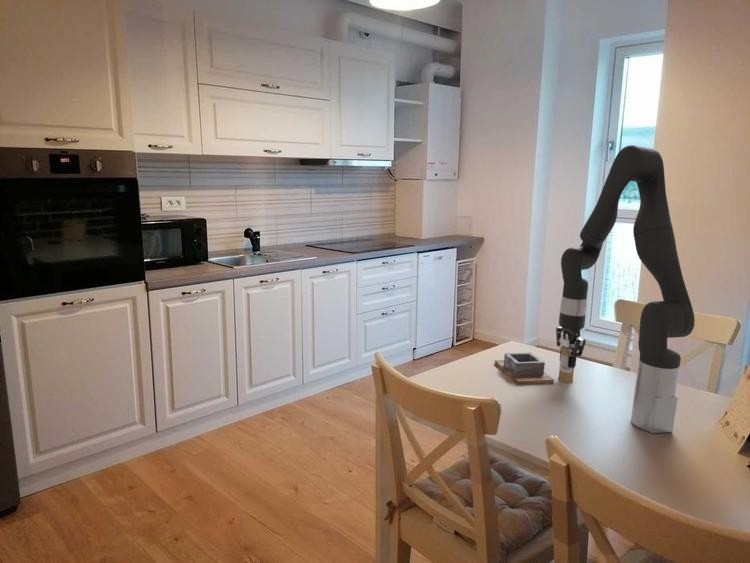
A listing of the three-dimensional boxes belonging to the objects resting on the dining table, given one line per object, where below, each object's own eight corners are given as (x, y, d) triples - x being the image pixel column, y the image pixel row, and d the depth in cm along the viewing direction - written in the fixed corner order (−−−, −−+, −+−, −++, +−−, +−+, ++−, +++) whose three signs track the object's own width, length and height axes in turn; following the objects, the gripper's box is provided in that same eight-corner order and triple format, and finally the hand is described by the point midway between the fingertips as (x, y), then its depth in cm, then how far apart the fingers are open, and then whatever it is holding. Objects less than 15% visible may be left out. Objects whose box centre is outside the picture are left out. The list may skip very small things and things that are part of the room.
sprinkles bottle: (575, 380, 171) (580, 339, 168) (568, 384, 168) (573, 342, 165) (562, 376, 174) (566, 336, 171) (555, 379, 171) (559, 339, 168)
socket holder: (553, 383, 168) (555, 367, 167) (517, 384, 166) (518, 368, 165) (528, 362, 185) (529, 348, 184) (494, 363, 183) (495, 349, 182)
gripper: (597, 317, 160) (590, 372, 163) (572, 305, 174) (566, 356, 177) (573, 318, 159) (567, 373, 162) (550, 305, 172) (545, 356, 176)
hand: (567, 364), depth 170 cm, fingers closed on sprinkles bottle, 4 cm apart
